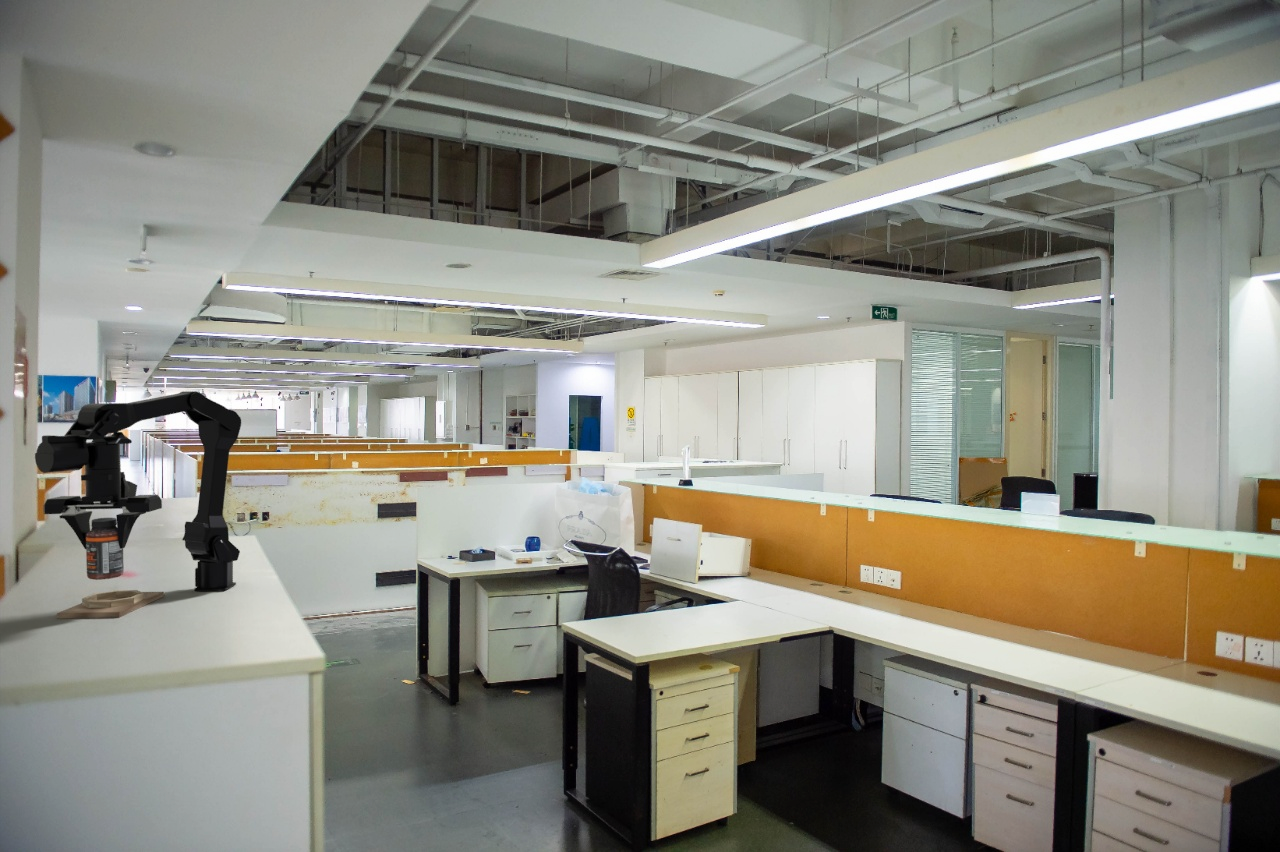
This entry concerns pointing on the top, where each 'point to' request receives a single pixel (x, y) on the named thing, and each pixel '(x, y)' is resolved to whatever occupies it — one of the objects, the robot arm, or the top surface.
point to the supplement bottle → (103, 550)
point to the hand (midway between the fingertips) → (105, 548)
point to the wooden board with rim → (110, 604)
